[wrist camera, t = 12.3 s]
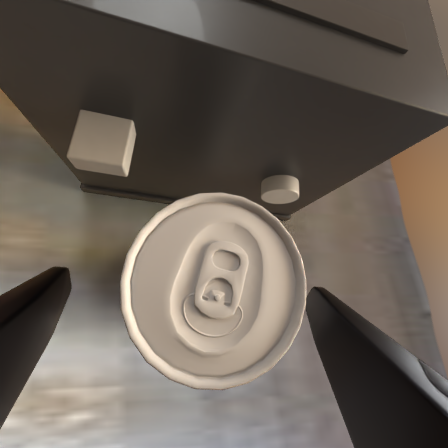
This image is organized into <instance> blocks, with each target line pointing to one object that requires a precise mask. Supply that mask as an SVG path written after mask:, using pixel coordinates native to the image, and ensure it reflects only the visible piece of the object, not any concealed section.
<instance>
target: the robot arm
mask: <svg viewBox="0 0 448 448" xmlns="http://www.w3.org/2000/svg"><path fill="white" fill-rule="evenodd" d="M71 287H72V286H71V278H70V271H69V269H68V268H66V267H52V268H50V269H48V270H46V271H44V272H42V273H41V274H39V275H37V276H35V277H33V278H32V279H30V280H28V281H26V282H24V283H22V284H21V285H19V286H17V287H15V288H13V289H11V290H10V291H8V292H6V293H4V294H2V295H0V429H1V427H2V425H3V423H4V422H5V420H6V418H7V416H8V414H9V413H10V411H11V409H12V407H13V406H14V404H15V402H16V400H17V398H18V397H19V395H20V393H21V391H22V389H23V388H24V386H25V384H26V382H27V380H28V379H29V377H30V375H31V373H32V371H33V370H34V368H35V366H36V364H37V363H38V361H39V359H40V357H41V355H42V354H43V352H44V350H45V348H46V346H47V345H48V343H49V341H50V339H51V337H52V335H53V332H54V330H55V328H56V325H57V323H58V321H59V318H60V316H61V314H62V311H63V309H64V307H65V304H66V302H67V299H68V297H69V295H70V292H71ZM305 309H306V312H307V316H308V320H309V323H310V327H311V331H312V334H313V338H314V341H315V344H316V347H317V350H318V353H319V355H320V358H321V361H322V363H323V366H324V369H325V371H326V374H327V376H328V379H329V382H330V384H331V387H332V390H333V392H334V395H335V398H336V400H337V403H338V406H339V408H340V411H341V414H342V416H343V419H344V422H345V424H346V427H347V430H348V432H349V435H350V438H351V440H352V443H353V445H354V448H448V380H447V379H446V378H444V377H443V376H442V375H440V374H439V373H437V372H436V371H435V370H433V369H432V368H431V367H429V366H428V365H427V364H425V363H424V362H423V361H421V360H420V359H417V357H416V356H414V355H413V354H412V353H410V352H409V351H408V350H406V349H405V348H404V347H402V346H401V345H400V344H398V343H397V342H396V341H394V340H393V339H392V338H390V337H389V336H388V335H386V334H385V333H384V332H382V331H381V330H380V329H378V328H377V327H376V326H374V325H373V324H372V323H370V322H369V321H367V320H366V319H365V318H363V317H362V316H361V315H359V314H358V313H357V312H355V311H354V310H353V309H351V308H350V307H349V306H347V305H346V304H345V303H343V302H342V301H341V300H339V299H338V298H337V297H335V296H334V295H333V294H331V293H330V292H329V291H327V290H326V289H325V288H322V287H313V288H312V289H311V290H310V292H309V294H308V296H307V298H306V306H305Z"/></svg>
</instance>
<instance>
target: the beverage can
mask: <svg viewBox="0 0 448 448" xmlns="http://www.w3.org/2000/svg"><path fill="white" fill-rule="evenodd" d="M120 300H121V312H122V315H123V318H124V321H125V324H126V328H127V331H128V334H129V337H130V339H131V340H132V342H133V343H134V345H135V346H136V348H137V349H138V350H139V352H140V353H141V355H142V356H143V358H144V359H145V361H146V362H147V363H148V364H150V365H151V366H152V367H154V368H155V369H156V370H157V371H159V372H160V373H161V374H163V375H164V376H165V377H166V378H168V379H169V380H172V381H175V382H177V383H180V384H183V385H186V386H188V387H191V388H194V389H207V390H225V389H228V388H232V387H236V386H239V385H243V384H246V383H249V382H251V381H252V380H254V379H256V378H257V377H259V376H260V375H262V374H264V373H265V372H267V371H268V370H270V369H271V368H272V367H273V366H274V365H275V364H276V363H277V362H278V361H279V360H280V358H281V357H282V356H283V355H284V354H285V353H286V352H287V351H288V350H289V348H290V346H291V344H292V342H293V340H294V338H295V336H296V334H297V332H298V330H299V329H300V326H301V322H302V318H303V314H304V310H305V306H306V276H305V272H304V267H303V262H302V258H301V255H300V253H299V251H298V249H297V247H296V245H295V242H294V240H293V238H292V236H291V235H290V234H289V233H288V231H287V230H286V229H285V227H284V226H283V225H282V223H281V222H280V221H279V220H278V219H277V218H276V217H275V216H273V215H272V214H271V213H270V212H268V211H267V210H266V209H265V208H263V207H262V206H260V205H258V204H256V203H254V202H252V201H250V200H248V199H246V198H244V197H241V196H236V195H231V194H226V193H199V194H196V195H192V196H189V197H186V198H182V199H179V200H177V201H175V202H173V203H172V204H170V205H168V206H167V207H165V208H163V209H162V210H160V211H159V212H157V213H156V214H155V215H154V216H153V217H152V218H151V219H150V220H149V221H148V222H147V223H146V224H145V226H144V227H143V228H142V229H141V230H140V231H139V232H138V234H137V236H136V238H135V240H134V242H133V243H132V245H131V247H130V249H129V251H128V252H127V254H126V258H125V262H124V267H123V271H122V275H121V279H120Z"/></svg>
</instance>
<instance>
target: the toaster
mask: <svg viewBox="0 0 448 448" xmlns="http://www.w3.org/2000/svg"><path fill="white" fill-rule="evenodd" d="M0 88H1V89H2V91H3V92H4V93H5V94H6V95H7V96H8V97H9V99H10V100H11V101H12V102H13V103H14V104H15V106H16V107H17V108H18V109H19V110H20V111H21V113H22V114H23V115H24V116H25V117H26V118H27V120H28V121H29V122H30V123H31V124H32V125H33V127H34V128H35V129H36V130H37V131H38V132H39V134H40V135H41V136H42V137H43V138H44V139H45V141H46V142H47V143H48V144H49V145H50V146H51V148H52V149H53V150H54V151H55V152H56V153H57V155H58V156H59V157H60V158H61V159H62V160H63V162H64V163H65V164H66V165H67V166H68V167H69V169H70V170H71V171H72V172H73V173H74V174H75V176H76V177H77V178H78V179H79V180H80V181H81V185H80V188H81V189H82V190H83V191H84V192H89V193H96V194H103V195H110V196H117V197H124V198H131V199H138V200H145V201H152V202H159V203H166V204H172V203H173V202H175V201H177V200H179V199H182V198H186V197H189V196H192V195H196V194H199V193H226V194H231V195H236V196H241V197H244V198H246V199H248V200H250V201H252V202H254V203H256V204H258V205H260V206H262V207H263V208H265V209H266V210H267V211H268V212H270V213H271V214H272V215H273V216H275V217H276V218H277V219H278V220H285V221H287V220H289V219H291V214H293V213H294V212H296V211H298V210H300V209H301V208H303V207H305V206H307V205H308V204H310V203H312V202H314V201H316V200H317V199H319V198H321V197H323V196H324V195H326V194H328V193H330V192H331V191H333V190H335V189H337V188H339V187H340V186H342V185H344V184H346V183H347V182H349V181H351V180H353V179H354V178H356V177H358V176H360V175H362V174H363V173H365V172H367V171H369V170H370V169H372V168H374V167H376V166H377V165H379V164H381V163H383V162H384V161H386V160H388V159H390V158H392V157H393V156H395V155H397V154H398V153H400V152H402V151H404V150H406V149H407V148H409V147H411V146H413V145H414V144H416V143H418V142H420V141H421V140H423V139H425V138H427V137H429V136H430V135H432V134H434V133H436V132H438V131H439V130H441V129H443V128H445V127H446V126H448V75H447V71H446V67H445V63H444V59H443V55H442V52H441V48H440V44H439V40H438V36H437V33H436V29H435V25H434V21H433V17H432V13H431V9H430V5H429V2H428V0H0Z"/></svg>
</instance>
